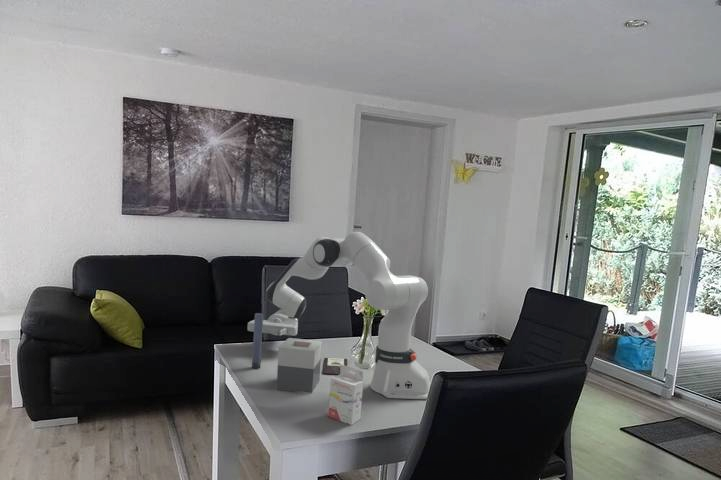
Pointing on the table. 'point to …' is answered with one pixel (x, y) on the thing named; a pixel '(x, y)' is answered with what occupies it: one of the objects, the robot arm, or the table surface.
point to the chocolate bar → (333, 366)
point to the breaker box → (299, 365)
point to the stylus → (257, 341)
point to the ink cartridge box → (346, 395)
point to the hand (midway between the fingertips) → (267, 332)
